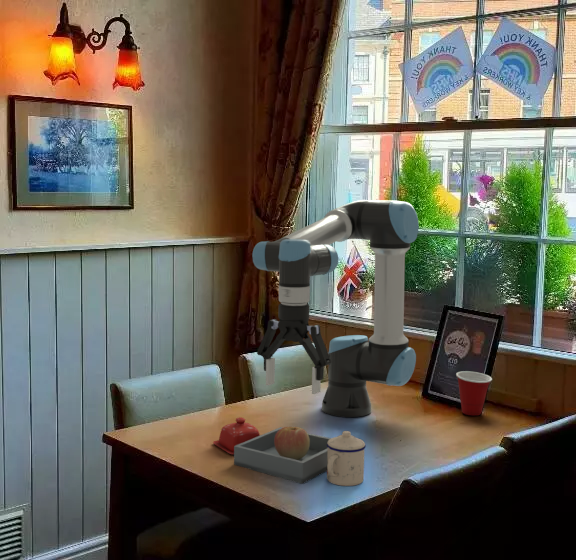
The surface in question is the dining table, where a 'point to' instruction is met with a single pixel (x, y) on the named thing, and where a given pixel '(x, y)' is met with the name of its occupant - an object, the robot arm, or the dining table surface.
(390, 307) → the robot arm
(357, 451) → the teacup with lid
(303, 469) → the bin
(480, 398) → the plastic cup
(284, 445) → the apple
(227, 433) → the butter dish
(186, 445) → the dining table surface
